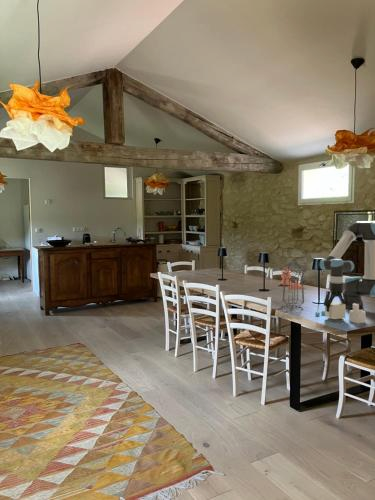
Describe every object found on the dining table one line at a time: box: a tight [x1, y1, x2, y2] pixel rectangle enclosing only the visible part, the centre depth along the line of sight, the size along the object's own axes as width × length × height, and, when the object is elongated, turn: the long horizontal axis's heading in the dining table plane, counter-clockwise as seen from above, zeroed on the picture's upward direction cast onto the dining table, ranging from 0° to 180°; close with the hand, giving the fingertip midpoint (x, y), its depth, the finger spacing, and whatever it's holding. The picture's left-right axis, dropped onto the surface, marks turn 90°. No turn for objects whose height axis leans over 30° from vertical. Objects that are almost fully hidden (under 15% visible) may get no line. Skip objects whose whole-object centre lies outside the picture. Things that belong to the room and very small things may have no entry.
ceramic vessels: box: [280, 269, 305, 291], centre depth 380 cm, size 35×21×19 cm, turn 15°
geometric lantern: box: [280, 261, 308, 309], centre depth 296 cm, size 16×16×35 cm
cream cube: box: [324, 301, 347, 319], centre depth 258 cm, size 9×9×9 cm
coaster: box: [327, 317, 345, 323], centre depth 258 cm, size 10×10×1 cm
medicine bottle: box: [348, 303, 367, 324], centre depth 253 cm, size 7×7×12 cm
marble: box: [314, 311, 321, 317], centre depth 269 cm, size 3×3×3 cm
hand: (335, 316), depth 257 cm, fingers closed on cream cube, 9 cm apart
